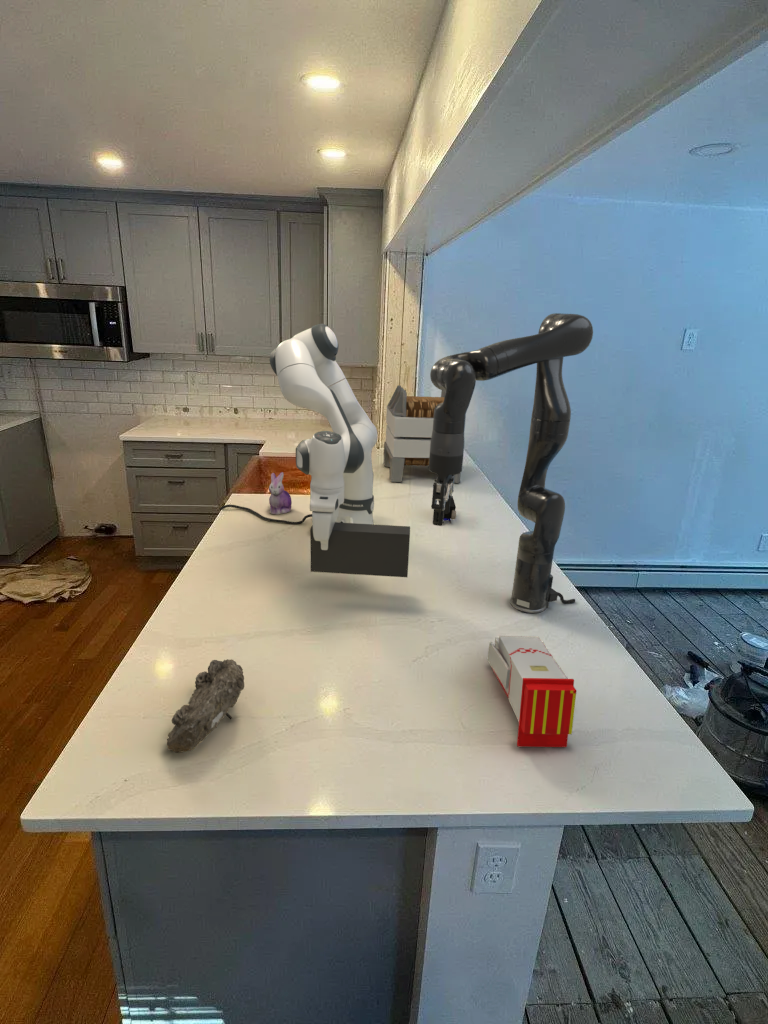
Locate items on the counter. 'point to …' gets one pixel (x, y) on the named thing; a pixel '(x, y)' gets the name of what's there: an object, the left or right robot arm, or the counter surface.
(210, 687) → the fossil
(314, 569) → the box
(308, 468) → the left robot arm
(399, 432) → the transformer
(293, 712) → the counter surface
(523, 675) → the toy
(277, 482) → the figurine
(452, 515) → the figurine character
